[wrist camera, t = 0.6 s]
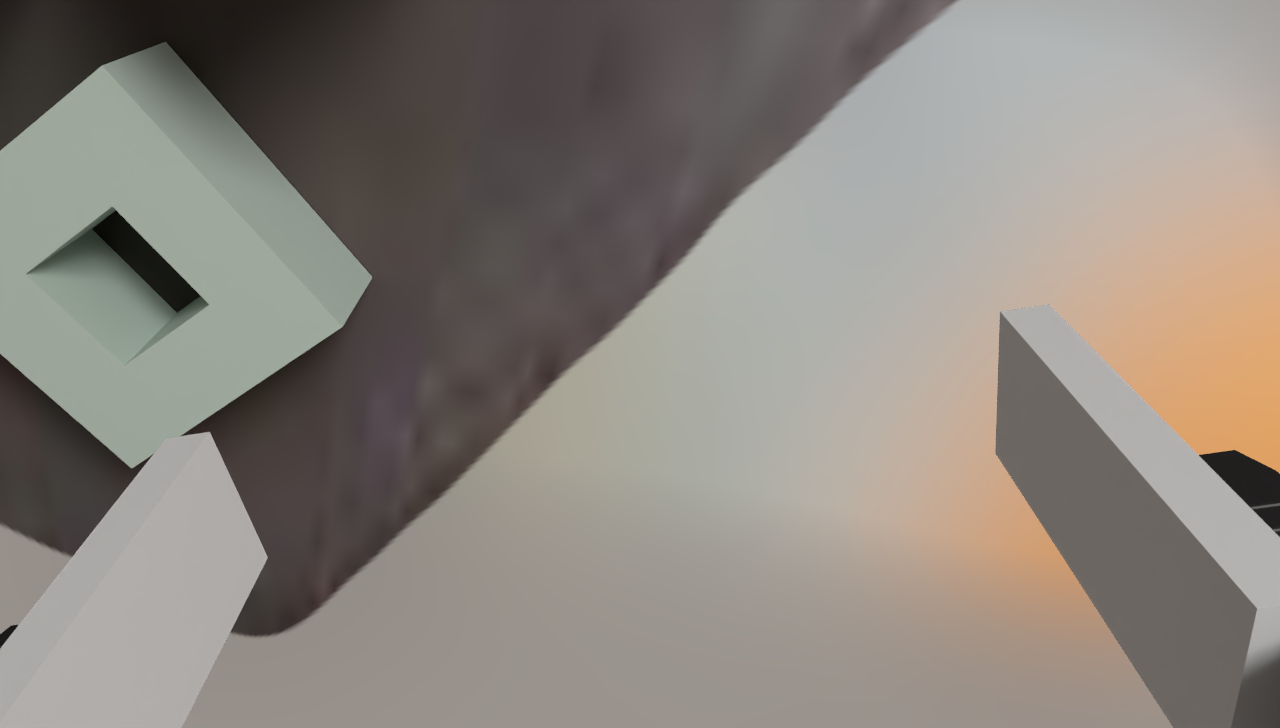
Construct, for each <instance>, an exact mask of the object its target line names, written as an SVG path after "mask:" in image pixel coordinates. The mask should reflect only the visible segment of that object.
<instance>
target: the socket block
mask: <svg viewBox="0 0 1280 728" xmlns="http://www.w3.org/2000/svg"><path fill="white" fill-rule="evenodd" d="M115 211H117V212H118V213H119V214H120V215H121V216H122V217H123V218H124V219H125V220H126V221H127V222H128V223H129V224H130V225H131V226H132V227H133V228H134V229H135V230H136V231H137V232H138V233H139V234H140V235H141V236H142V237H143V238H144V239H145V240H146V241H147V242H148V243H149V244H150V245H151V246H152V247H153V248H154V249H155V250H156V251H157V252H158V253H159V254H160V255H161V256H162V257H163V258H164V259H165V260H166V261H167V262H168V263H169V264H170V265H171V266H172V267H173V268H174V269H175V270H176V271H177V272H178V273H179V274H180V275H181V276H182V277H183V278H184V279H185V280H186V281H187V282H188V283H189V284H190V285H191V286H192V287H193V288H194V290H195V291H196V292H197V293H198V294H199V295H200V297H198V298H197V299H196V300H194V301H193V302H192V303H190V304H189V305H187V306H186V307H185V308H183V309H182V310H180V311H179V312H178V313H177V312H176V311H175V310H174V309H173V308H172V307H171V306H170V305H169V304H168V303H167V302H165V301H164V300H163V299H162V298H161V297H160V296H159V295H158V294H157V293H156V292H155V291H154V290H153V289H152V288H151V287H150V286H149V285H148V284H147V283H146V282H145V281H144V280H143V279H142V278H141V277H140V276H139V275H138V274H137V273H136V272H135V271H134V270H133V269H132V268H131V267H130V266H129V265H128V264H127V263H126V262H125V261H124V260H123V259H122V258H121V257H120V256H119V255H118V254H117V253H116V252H115V251H114V250H113V249H112V248H111V247H110V246H109V245H108V244H107V243H106V242H105V241H104V240H103V239H102V238H101V237H100V236H99V235H98V234H97V233H96V232H95V231H94V230H93V228H94V227H95V226H97V225H98V224H99V223H100V222H102V221H103V220H104V219H106V218H107V217H108V216H109V215H111V214H112V213H113V212H115ZM371 279H372V276H371V275H370V274H369V273H368V272H367V270H366V269H365V268H364V267H363V266H362V265H361V264H360V262H359V261H358V260H357V259H356V258H355V257H354V256H353V254H352V253H351V252H350V251H349V250H348V249H347V248H346V247H345V245H344V244H343V243H342V242H341V241H340V240H339V239H338V237H337V236H336V235H335V234H334V233H333V232H332V231H331V229H330V228H329V227H328V226H327V225H326V224H325V223H324V221H323V220H322V219H321V218H320V217H319V216H318V215H317V213H316V212H315V211H314V210H313V209H312V208H311V207H310V205H309V204H308V203H307V202H306V201H305V200H304V199H303V198H302V196H301V195H300V194H299V193H298V192H297V191H296V190H295V188H294V187H293V186H292V185H291V184H290V183H289V182H288V180H287V179H286V178H285V177H284V176H283V175H282V174H281V172H280V171H279V170H278V169H277V168H276V167H275V166H274V164H273V163H272V162H271V161H270V160H269V159H268V158H267V157H266V155H265V154H264V153H263V152H262V151H261V150H260V149H259V147H258V146H257V145H256V144H255V143H254V142H253V141H252V139H251V138H250V137H249V136H248V135H247V134H246V133H245V131H244V130H243V129H242V128H241V127H240V126H239V125H238V123H237V122H236V121H235V120H234V119H233V118H232V117H231V116H230V114H229V113H228V112H227V111H226V110H225V109H224V108H223V106H222V105H221V104H220V103H219V102H218V101H217V100H216V98H215V97H214V96H213V95H212V94H211V93H210V92H209V90H208V89H207V88H206V87H205V86H204V85H203V84H202V82H201V81H200V80H199V79H198V78H197V77H196V76H195V74H194V73H193V72H192V71H191V70H190V69H189V68H188V67H187V65H186V64H185V63H184V62H183V61H182V60H181V59H180V57H179V56H178V55H177V54H176V53H175V52H174V51H173V49H172V48H171V47H170V46H169V45H168V44H167V43H166V42H164V43H161V44H158V45H156V46H153V47H150V48H148V49H145V50H142V51H140V52H137V53H134V54H132V55H129V56H126V57H124V58H121V59H118V60H116V61H113V62H110V63H108V64H105V65H102V66H101V67H100V68H98V69H97V70H96V71H95V72H94V73H93V74H91V75H90V76H89V77H88V78H87V79H85V80H84V81H83V82H82V83H81V84H79V85H78V86H77V87H76V88H75V89H73V90H72V91H71V92H70V93H69V94H67V95H66V96H65V97H64V98H63V99H62V100H60V101H59V102H58V103H57V104H56V105H54V106H53V107H52V108H51V109H50V110H48V111H47V112H46V113H45V114H44V115H42V116H41V117H40V118H39V119H38V120H37V121H35V122H34V123H33V124H32V125H31V126H29V127H28V128H27V129H26V130H25V131H23V132H22V133H21V134H20V135H19V136H17V137H16V138H15V139H14V140H13V141H12V142H10V143H9V144H8V145H7V146H6V147H4V148H3V149H2V150H1V151H0V354H1V355H2V356H3V357H4V358H6V359H7V360H8V361H9V362H10V363H11V364H13V365H14V366H15V367H16V368H17V369H18V370H19V371H21V372H22V373H23V374H24V375H25V376H26V377H27V378H29V379H30V380H31V381H32V382H33V383H34V384H35V385H37V386H38V387H39V388H40V389H41V390H42V391H43V392H45V393H46V394H47V395H48V396H49V397H50V398H51V399H53V400H54V401H55V402H56V403H57V404H58V405H59V406H61V407H62V408H63V409H64V410H65V411H66V412H67V413H69V414H70V415H71V416H72V417H73V418H74V419H75V420H77V421H78V422H79V423H80V424H81V425H82V426H84V427H85V428H86V429H87V430H88V431H89V432H90V433H92V434H93V435H94V436H95V437H96V438H97V439H98V440H100V441H101V442H102V443H103V444H104V445H105V446H106V447H108V448H109V449H110V450H111V451H112V452H113V453H114V454H116V455H117V456H118V457H119V458H120V459H121V460H122V461H124V462H125V463H126V464H127V465H128V466H129V467H130V468H133V467H135V466H136V465H138V464H139V463H141V462H142V461H144V460H145V459H147V458H148V457H150V456H151V455H153V454H154V453H155V452H156V450H157V449H158V448H159V447H160V445H161V444H162V443H163V442H164V440H165V439H166V438H173V437H179V436H181V435H182V434H184V433H185V432H187V431H188V430H190V429H191V428H193V427H194V426H196V425H197V424H199V423H200V422H202V421H203V420H205V419H206V418H208V417H209V416H211V415H212V414H214V413H215V412H217V411H218V410H220V409H221V408H223V407H224V406H226V405H227V404H228V403H230V402H231V401H233V400H234V399H236V398H237V397H239V396H240V395H242V394H243V393H245V392H246V391H248V390H249V389H251V388H252V387H254V386H255V385H257V384H258V383H260V382H261V381H263V380H264V379H266V378H267V377H269V376H270V375H272V374H273V373H275V372H276V371H278V370H279V369H281V368H282V367H284V366H285V365H286V364H288V363H289V362H291V361H292V360H294V359H295V358H297V357H298V356H300V355H301V354H303V353H304V352H306V351H307V350H309V349H310V348H312V347H313V346H315V345H316V344H318V343H319V342H321V341H322V340H324V339H325V338H327V337H328V336H330V335H331V334H333V333H334V332H336V331H337V330H339V329H340V328H342V327H343V325H344V324H345V322H346V320H347V319H348V317H349V315H350V314H351V312H352V310H353V309H354V307H355V305H356V304H357V302H358V301H359V299H360V297H361V296H362V294H363V292H364V291H365V289H366V287H367V286H368V284H369V282H370V281H371Z"/></svg>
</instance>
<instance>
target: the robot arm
mask: <svg viewBox="0 0 1280 728" xmlns="http://www.w3.org/2000/svg"><path fill="white" fill-rule="evenodd" d="M997 396H998V397H997V425H996V455H997V456H998V458H999V459H1000V461H1001V462H1002V464H1003V465H1004V467H1005V468H1006V470H1007V471H1008V473H1009V474H1010V476H1011V478H1012V479H1013V481H1014V482H1015V484H1016V485H1017V487H1018V489H1019V490H1020V492H1021V493H1022V495H1023V496H1024V498H1025V499H1026V501H1027V502H1028V504H1029V506H1030V507H1031V508H1032V510H1033V512H1034V513H1035V515H1036V516H1037V518H1038V519H1039V521H1040V522H1041V524H1042V525H1043V527H1044V528H1045V530H1046V532H1047V533H1048V535H1049V536H1050V538H1051V539H1052V541H1053V543H1054V544H1055V546H1056V547H1057V549H1058V550H1059V552H1060V553H1061V555H1062V556H1063V558H1064V559H1065V561H1066V563H1067V564H1068V566H1069V567H1070V569H1071V570H1072V572H1073V573H1074V575H1075V576H1076V578H1077V580H1078V581H1079V583H1080V584H1081V586H1082V587H1083V589H1084V590H1085V592H1086V593H1087V595H1088V596H1089V598H1090V599H1091V601H1092V603H1093V604H1094V606H1095V607H1096V609H1097V610H1098V612H1099V613H1100V615H1101V617H1102V618H1103V620H1104V621H1105V623H1106V624H1107V626H1108V627H1109V629H1110V630H1111V632H1112V634H1113V635H1114V637H1115V638H1116V640H1117V641H1118V643H1119V644H1120V646H1121V647H1122V649H1123V651H1124V652H1125V654H1126V655H1127V657H1128V658H1129V660H1130V661H1131V662H1132V664H1133V666H1134V667H1135V669H1136V671H1137V672H1138V674H1139V675H1140V677H1141V678H1142V680H1143V681H1144V683H1145V685H1146V686H1147V688H1148V689H1149V691H1150V692H1151V694H1152V695H1153V697H1154V698H1155V700H1156V701H1157V703H1158V705H1159V706H1160V707H1161V709H1162V711H1163V712H1164V714H1165V715H1166V717H1167V718H1168V720H1169V722H1170V723H1171V725H1172V726H1173V728H1280V474H1279V473H1278V472H1277V471H1275V470H1273V469H1272V468H1270V467H1267V466H1266V465H1263V464H1261V463H1259V462H1258V461H1256V460H1254V459H1251V458H1250V457H1247V456H1245V455H1244V454H1242V453H1240V452H1238V451H1235V450H1232V451H1226V452H1218V453H1211V454H1203V455H1198V454H1197V453H1196V452H1195V451H1194V450H1193V449H1192V448H1191V447H1190V446H1189V445H1188V444H1187V443H1186V442H1185V441H1184V440H1183V439H1182V438H1181V437H1180V436H1179V435H1178V434H1177V433H1176V432H1175V431H1174V430H1173V429H1172V428H1171V427H1170V426H1169V425H1168V424H1167V423H1166V422H1165V421H1164V420H1163V419H1162V418H1161V417H1160V416H1159V415H1158V414H1157V413H1156V412H1155V411H1154V410H1153V409H1152V408H1151V407H1150V406H1149V405H1148V404H1147V403H1146V402H1145V401H1144V400H1143V399H1142V398H1141V397H1140V396H1139V395H1138V394H1137V393H1136V392H1135V391H1134V390H1133V389H1132V388H1131V387H1130V386H1129V385H1128V384H1127V383H1126V382H1125V381H1124V380H1123V379H1122V378H1121V377H1120V376H1119V375H1118V374H1117V373H1116V372H1115V371H1114V370H1113V369H1112V367H1111V366H1109V365H1108V363H1107V362H1106V361H1105V360H1104V359H1102V357H1101V356H1100V355H1099V354H1098V353H1097V352H1096V351H1095V350H1094V349H1093V348H1092V347H1091V346H1090V345H1089V344H1088V343H1087V342H1086V341H1085V340H1084V339H1083V338H1082V337H1081V336H1080V335H1079V334H1078V333H1077V332H1076V331H1075V330H1074V329H1073V328H1072V327H1071V326H1070V325H1069V324H1067V322H1066V321H1065V320H1064V319H1063V318H1062V317H1061V316H1060V315H1059V314H1058V313H1057V312H1056V311H1055V310H1054V309H1053V308H1052V307H1051V306H1050V305H1049V304H1047V305H1041V306H1034V307H1028V308H1021V309H1014V310H1008V311H1001V312H1000V333H999V364H998V395H997ZM267 558H268V557H267V555H266V553H265V551H264V548H263V546H262V544H261V542H260V540H259V538H258V535H257V533H256V531H255V529H254V527H253V525H252V522H251V520H250V518H249V516H248V514H247V512H246V509H245V507H244V505H243V503H242V501H241V499H240V496H239V494H238V492H237V490H236V488H235V486H234V483H233V481H232V479H231V477H230V475H229V473H228V470H227V468H226V466H225V464H224V462H223V460H222V458H221V455H220V453H219V451H218V449H217V447H216V445H215V442H214V440H213V438H212V436H211V434H210V432H206V433H199V434H193V435H186V436H179V437H173V438H166V439H165V440H164V442H163V443H162V444H161V445H160V447H159V448H158V449H157V450H156V452H155V453H154V454H153V456H152V457H151V458H150V459H149V461H148V462H147V463H146V464H145V466H144V467H143V468H142V469H141V471H140V472H139V473H138V475H137V476H136V477H135V478H134V480H133V481H132V482H131V483H130V485H129V486H128V487H127V488H126V490H125V491H124V492H123V494H122V495H121V496H120V497H119V499H118V500H117V501H116V502H115V504H114V505H113V506H112V507H111V509H110V510H109V511H108V513H107V514H106V515H105V516H104V518H103V519H102V520H101V521H100V523H99V524H98V525H97V526H96V528H95V529H94V530H93V532H92V533H91V534H90V535H89V537H88V538H87V539H86V540H85V542H84V543H83V544H82V546H81V547H80V548H79V549H78V551H77V552H76V553H75V554H74V556H73V557H72V558H71V559H70V561H69V562H68V563H67V565H66V566H65V567H64V568H63V570H62V571H61V572H60V573H59V575H58V576H57V577H56V578H55V580H54V581H53V582H52V584H51V585H50V586H49V587H48V589H47V590H46V591H45V592H44V594H43V595H42V596H41V598H40V599H39V600H38V601H37V603H36V604H35V605H34V606H33V608H32V609H31V610H30V612H29V613H28V614H27V615H26V616H25V618H24V619H23V620H22V622H21V623H20V624H19V625H13V626H10V627H9V628H8V629H6V630H5V631H4V632H3V633H2V634H0V728H182V726H183V724H184V722H185V720H186V718H187V717H188V714H189V712H190V711H191V708H192V707H193V705H194V703H195V701H196V698H197V697H198V694H199V693H200V691H201V689H202V687H203V685H204V683H205V681H206V679H207V677H208V675H209V673H210V671H211V669H212V667H213V665H214V663H215V661H216V659H217V657H218V655H219V653H220V651H221V649H222V647H223V645H224V643H225V641H226V639H227V637H228V635H229V633H230V631H231V629H232V627H233V625H234V623H235V621H236V620H237V618H238V616H239V614H240V612H241V610H242V608H243V606H244V604H245V602H246V600H247V598H248V596H249V594H250V592H251V590H252V588H253V586H254V584H255V582H256V580H257V578H258V576H259V574H260V572H261V570H262V568H263V566H264V564H265V562H266V560H267Z"/></svg>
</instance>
